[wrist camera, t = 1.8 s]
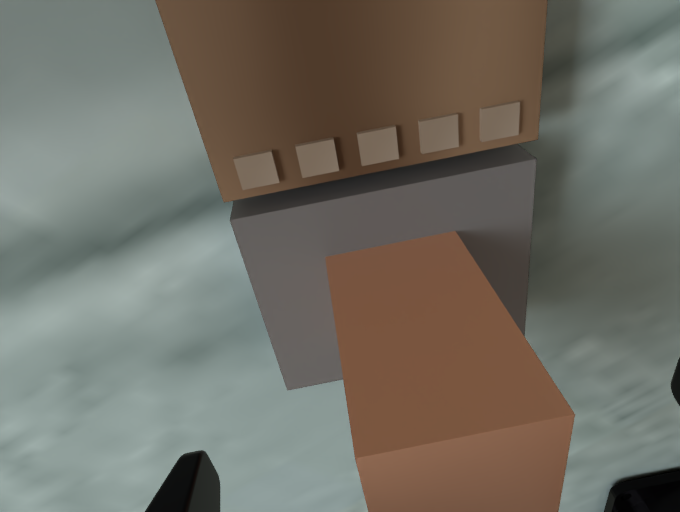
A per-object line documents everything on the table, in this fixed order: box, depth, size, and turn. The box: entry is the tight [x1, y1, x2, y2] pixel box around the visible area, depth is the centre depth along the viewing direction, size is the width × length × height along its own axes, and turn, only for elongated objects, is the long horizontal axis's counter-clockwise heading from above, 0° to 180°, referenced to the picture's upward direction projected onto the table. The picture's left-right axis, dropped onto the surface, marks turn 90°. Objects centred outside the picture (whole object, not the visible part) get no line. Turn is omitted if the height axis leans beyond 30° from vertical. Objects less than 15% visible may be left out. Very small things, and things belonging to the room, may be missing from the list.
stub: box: [230, 144, 575, 512], centre depth 10 cm, size 7×6×7 cm
